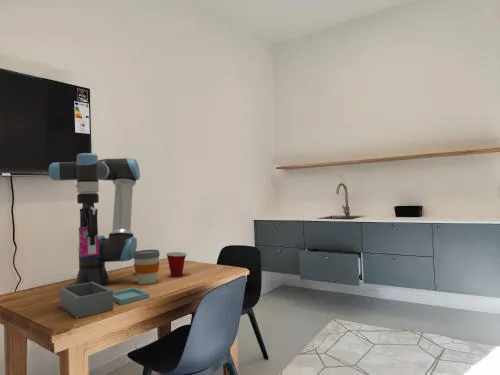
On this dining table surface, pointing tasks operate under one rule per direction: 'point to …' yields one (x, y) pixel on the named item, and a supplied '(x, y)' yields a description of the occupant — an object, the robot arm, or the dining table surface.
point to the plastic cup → (176, 263)
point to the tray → (129, 295)
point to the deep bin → (86, 299)
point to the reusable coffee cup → (146, 266)
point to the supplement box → (86, 243)
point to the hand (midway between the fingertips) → (89, 252)
